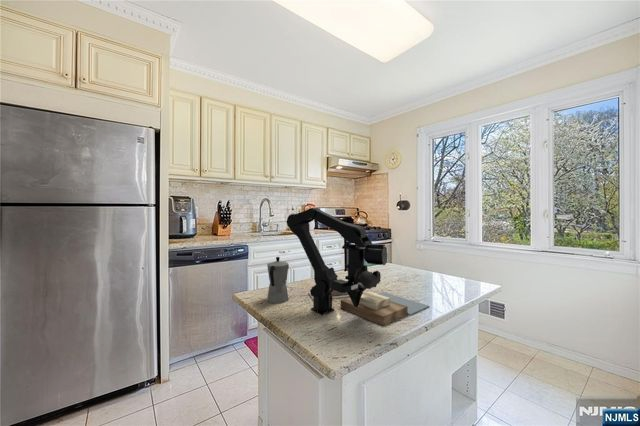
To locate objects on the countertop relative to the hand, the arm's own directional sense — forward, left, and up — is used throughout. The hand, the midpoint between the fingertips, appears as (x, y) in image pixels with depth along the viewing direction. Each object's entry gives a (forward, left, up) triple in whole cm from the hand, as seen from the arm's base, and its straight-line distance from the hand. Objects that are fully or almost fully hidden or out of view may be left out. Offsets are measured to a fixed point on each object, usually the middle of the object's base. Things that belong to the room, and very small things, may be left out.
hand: (355, 306), depth 91 cm
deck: (+9, 0, -4) cm, 10 cm away
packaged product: (+9, +24, -4) cm, 26 cm away
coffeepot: (-13, +33, -4) cm, 35 cm away
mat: (+23, 0, -4) cm, 23 cm away
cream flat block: (+9, 0, -1) cm, 9 cm away
